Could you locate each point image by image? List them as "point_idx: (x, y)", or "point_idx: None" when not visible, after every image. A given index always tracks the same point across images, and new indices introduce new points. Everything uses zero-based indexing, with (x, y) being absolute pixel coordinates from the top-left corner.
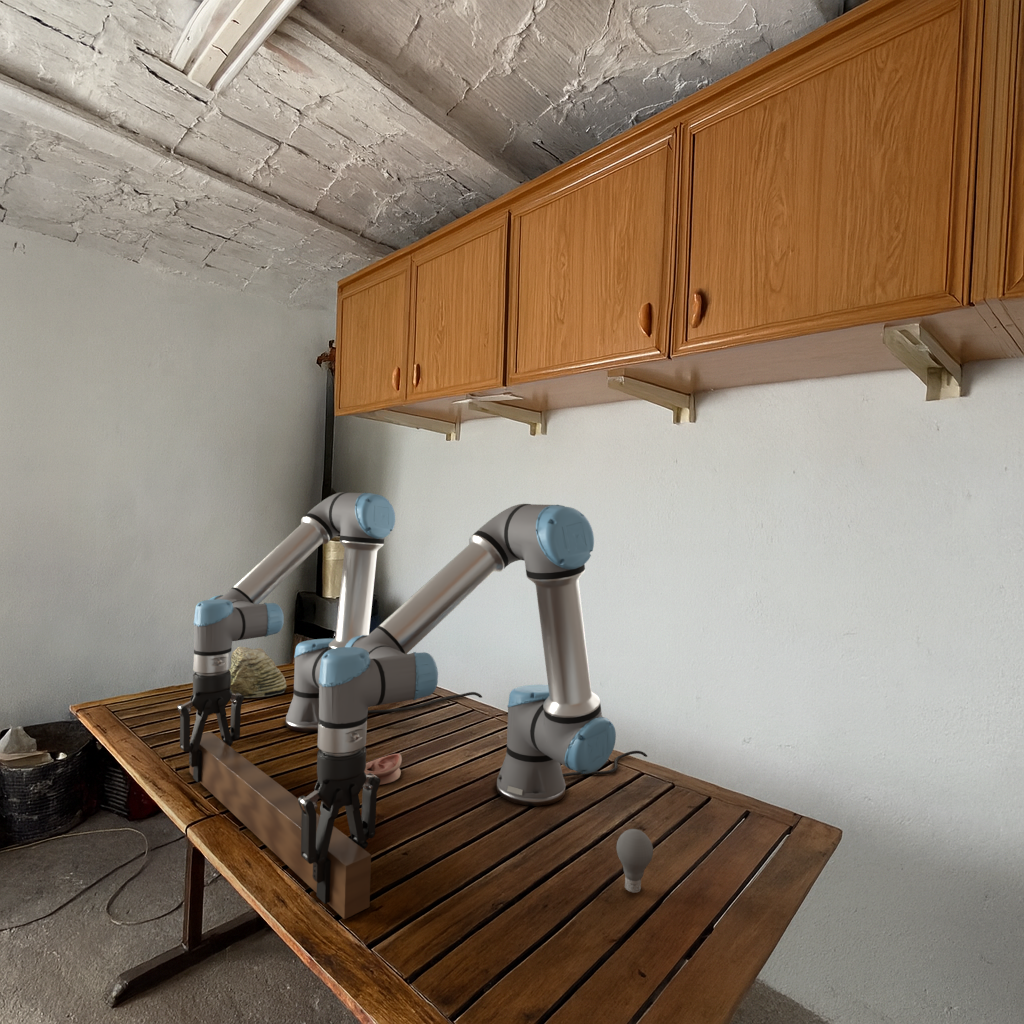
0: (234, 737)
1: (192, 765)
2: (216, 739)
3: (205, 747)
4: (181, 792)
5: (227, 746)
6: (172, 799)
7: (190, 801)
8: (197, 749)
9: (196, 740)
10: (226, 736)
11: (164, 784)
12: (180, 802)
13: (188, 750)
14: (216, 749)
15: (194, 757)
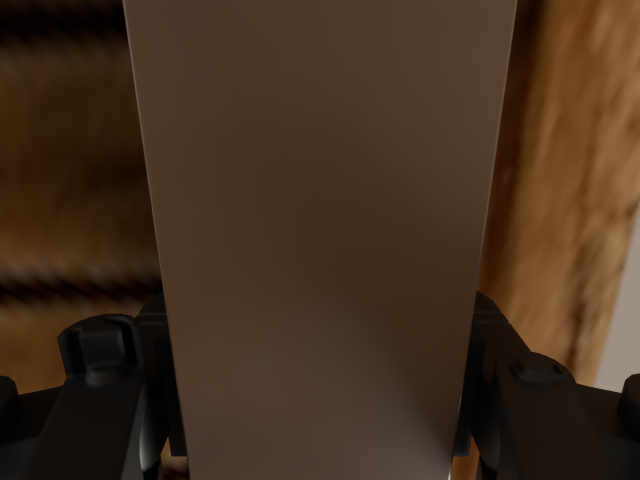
0: (7, 401)
1: (481, 298)
2: (232, 477)
3: (452, 324)
4: (522, 186)
5: (177, 154)
6: (611, 120)
7: (550, 4)
8: (509, 371)
9: (593, 477)
10: (104, 434)
11: (535, 347)
12: (603, 36)
13: (630, 381)
14: (364, 148)
15: (490, 336)
